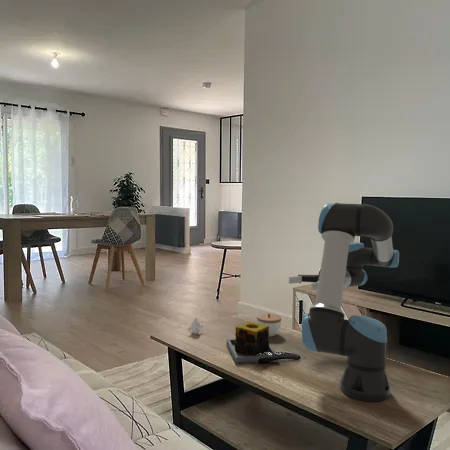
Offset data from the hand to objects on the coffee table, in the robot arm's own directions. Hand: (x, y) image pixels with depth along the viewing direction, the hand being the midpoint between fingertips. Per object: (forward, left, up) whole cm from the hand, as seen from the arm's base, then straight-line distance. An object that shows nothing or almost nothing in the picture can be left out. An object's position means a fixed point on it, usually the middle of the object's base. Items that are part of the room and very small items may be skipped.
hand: (300, 283), depth 180 cm
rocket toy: (+21, +40, -27) cm, 52 cm away
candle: (-5, +21, -26) cm, 33 cm away
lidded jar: (+17, +8, -27) cm, 32 cm away
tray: (-5, +21, -26) cm, 34 cm away
